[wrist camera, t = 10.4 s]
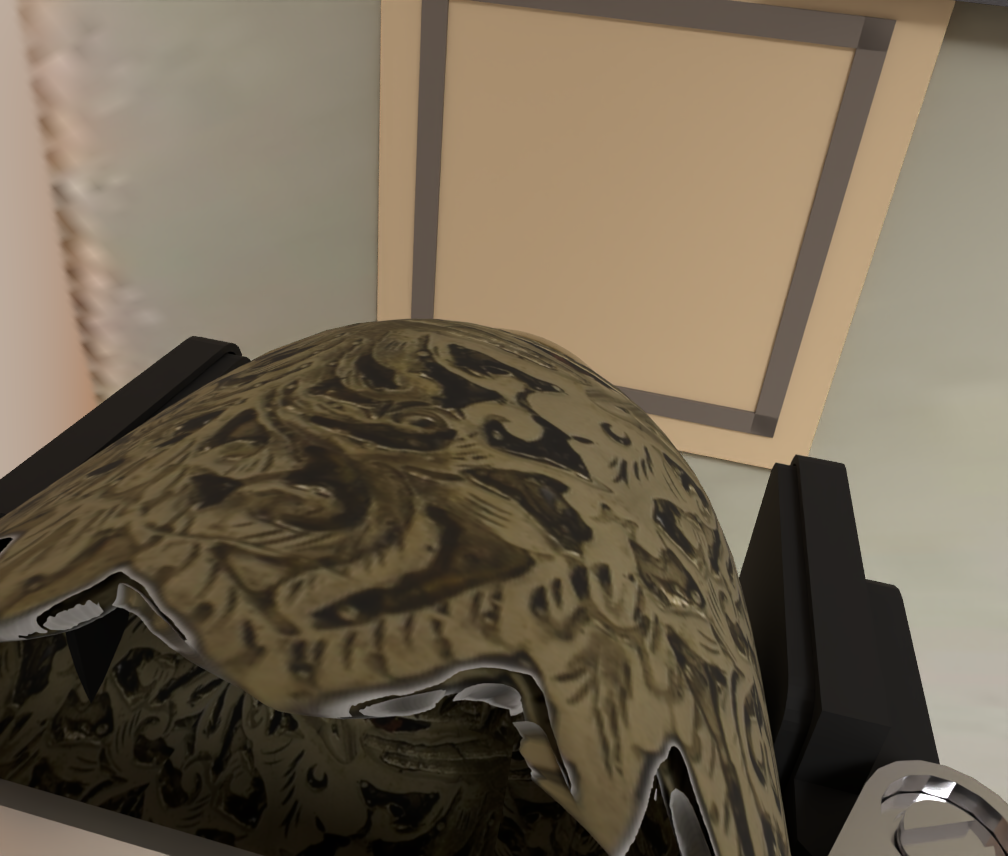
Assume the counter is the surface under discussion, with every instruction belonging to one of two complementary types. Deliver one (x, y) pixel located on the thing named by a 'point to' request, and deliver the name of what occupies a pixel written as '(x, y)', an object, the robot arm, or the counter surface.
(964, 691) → the counter surface
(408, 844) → the cup
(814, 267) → the print card
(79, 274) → the counter surface
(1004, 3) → the ink pad
